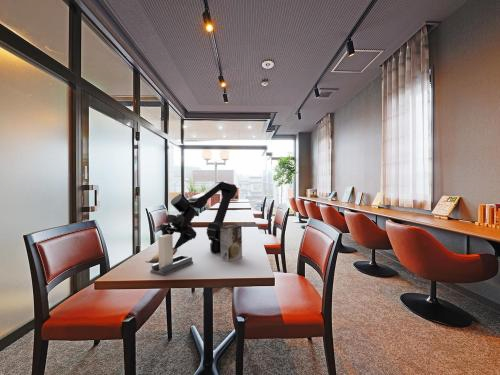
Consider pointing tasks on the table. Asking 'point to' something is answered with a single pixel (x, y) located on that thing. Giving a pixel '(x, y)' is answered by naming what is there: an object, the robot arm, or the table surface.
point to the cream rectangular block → (165, 250)
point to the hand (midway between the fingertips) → (167, 247)
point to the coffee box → (231, 242)
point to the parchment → (156, 256)
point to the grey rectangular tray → (173, 265)
